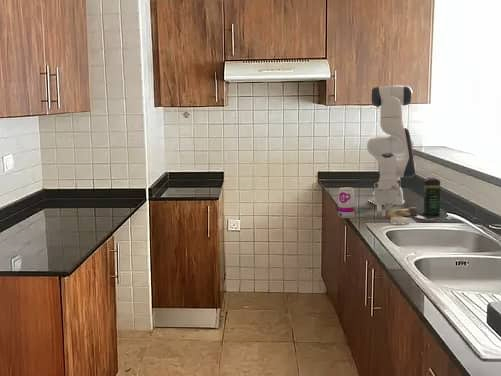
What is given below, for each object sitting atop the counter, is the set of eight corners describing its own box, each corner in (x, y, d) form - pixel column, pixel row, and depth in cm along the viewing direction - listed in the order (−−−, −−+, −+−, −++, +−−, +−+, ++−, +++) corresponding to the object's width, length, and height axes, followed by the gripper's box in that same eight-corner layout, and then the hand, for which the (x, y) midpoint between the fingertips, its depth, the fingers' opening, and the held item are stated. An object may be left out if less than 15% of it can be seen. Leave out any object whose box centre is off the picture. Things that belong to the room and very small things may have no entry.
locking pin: (375, 218, 291) (375, 204, 290) (380, 217, 292) (380, 204, 291) (378, 219, 289) (378, 205, 288) (383, 218, 289) (383, 204, 289)
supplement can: (351, 218, 292) (350, 189, 290) (336, 217, 296) (335, 188, 294) (357, 216, 299) (356, 187, 297) (342, 215, 303) (341, 186, 301)
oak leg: (413, 213, 297) (413, 206, 297) (418, 214, 293) (418, 208, 293) (384, 216, 291) (384, 209, 291) (389, 217, 287) (389, 211, 287)
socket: (390, 222, 277) (390, 217, 277) (401, 221, 280) (401, 216, 279) (397, 224, 272) (397, 219, 271) (409, 223, 274) (409, 218, 273)
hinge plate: (403, 215, 296) (403, 214, 296) (413, 214, 298) (413, 213, 298) (425, 220, 279) (425, 220, 279) (436, 219, 281) (436, 218, 281)
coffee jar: (441, 215, 293) (441, 178, 291) (425, 215, 294) (425, 178, 292) (438, 211, 302) (438, 176, 300) (423, 211, 304) (423, 176, 301)
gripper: (405, 186, 286) (405, 214, 288) (382, 183, 306) (382, 208, 307) (394, 187, 284) (394, 215, 286) (372, 183, 303) (372, 209, 305)
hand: (388, 212), depth 297 cm, fingers closed
